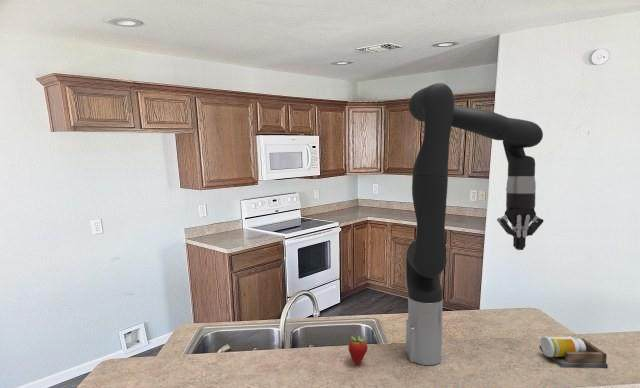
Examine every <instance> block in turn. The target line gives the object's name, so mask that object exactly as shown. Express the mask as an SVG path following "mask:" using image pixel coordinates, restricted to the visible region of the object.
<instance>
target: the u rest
mask: <svg viewBox="0 0 640 388" xmlns="http://www.w3.org/2000/svg"><path fill="white" fill-rule="evenodd" d="M577 339H581V340H582V341H583V342H584V343H585V346H586V352H565V357H549V358H550V359H551V360H552V361H553V362H554V363H555V364H557V365H558V367H560V368H584V369H585V368H587V369H589V368H591V369H594V368H595V369H608V367H609V366H608V365H609V364H608V363H607V357H608V356H607V353H605V352H604V351H602V350H601V349H599V348H598V347H597V346H595V345H593V344H592V343H591V342H590V341H587V340H586V339H585V338H580V337H579V338H577ZM540 349H541V350H540ZM539 350H540V351H542V348H541V344H540V345H539Z"/></svg>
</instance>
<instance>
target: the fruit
mask: <svg viewBox="0 0 640 388" xmlns="http://www.w3.org/2000/svg"><path fill="white" fill-rule="evenodd" d="M361 336H362V337H360V335H357V336H355V337H354V336H353V335H351V337H349V340H351V341H350V342H349V343H348V352H349V355H350V357H351V359H352V362H353V363H354V364H356V365H359V364H361V363H362V361H363V359H364V358H365V355H366V354H367V352H368V344H367V343H366V342H365V340H366V339H367V337H366V336H364V334H363V335H361Z"/></svg>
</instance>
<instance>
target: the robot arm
mask: <svg viewBox="0 0 640 388" xmlns="http://www.w3.org/2000/svg"><path fill="white" fill-rule="evenodd" d="M408 109H409V113H410V114H411V116H412V117H413V118H414V120H417V121H419V122H422V123H423V122H424V130H423V131H424V133H423V140H422V143H421V146H420V149H419V151H418V154H417V156H416V159H415V161H414V163H413V167H412V180H411V181H412V183H411V184H412V185H411V195H412V203H413V210H414V214H415V218H416V236H415V240H414V241H412V242H411V243H410V244H409V246H408V247H407V249H406V256H405V258H406V259H405V262H406V264H405V268H406V269H405V270H406V271H405V272H406V273H405V274H406V277H405V278H406V279H405V280H406V286H407V292H408V293H407V297H408V298H407V304H408V305H407V308H408V309H407V319H406V320H405V321H406V324H405V328H406V329H405V331H406V332H405V334H406V335H405V337H406V338H405V341H406V343H405V344H406V345H405V352H406V355H407V358H408V359H409V362H411V363H416V364H418V365H423V366H435V365H438V364H440V363H442V362H441V361H442V360H443V359H442V357H443V349H442V348H443V288H442V285H441V282H440V274H441V275H442V273H443V271H444V269H445V267H446V264H447V247H446V246H447V245H446V234H445V233H446V229H445V228H446V227H445V226H446V225H445V224H446V213H447V198H448V188H449V187H448V186H449V185H448V182H449V181H448V180H449V177H448V176H449V158H450V157H449V155H450V140H451V139H450V138H451V132H452V128H456V129H461V130H464V131H467V132H471V133H473V134H476V135H480V136H483V137H484V138H488V139H491V140H495V141H502V145H503V149H504V153H505V157H506V160H507V181H506V189H505V191H506V194H505V195H506V198H505V199H506V200H505V201H506V203H505V204H506V205H505V207H506V210H505V211H504V215H503V216H501V217H498V218H497V219H496V221H497V222H498V223H499V226H501V227H502V229H503V230H504V232H506V234H508V235H509V236H512V237H513V239H512V241H513V245H512V246H513V248H514V249H515V250H517V251H523V250H524V249H525V247H526V242H527V241H526V238H527V237H529V236H533V235H534V233H536V231H537V230H538V229H539V228H540V227H541V225H542V224H543V223H544V219H543V218H541V217H539V216H537V212H536V210H535V208H536V188H537V187H536V186H537V184H536V183H537V182H536V161H535V159H536V158H534V157H532V156H529V155H526V153H525V152H526V151H525V149H527V148H532V147H536V146H537V145H539V144H540V143H541V141H542V140H543V138H544V137H543V136H544V133H543V130H542V127H540V126H539V124H537V123H536V122H533V121H529V120H526V119H519V118H515V117H513V118H512V117H508V116H505V115H502V114H501V113H500V114H499V113H496V112H494V111H491V110H487V109H482V108H475V107H468V106H467V107H466V106H463V105H457V104H455V96H454V93H453V91H452V89H451V88H450V86H449V85H447V84H446V83H443V82H437V83H433V84H430V85H429V86H426V87H423V88H422V89H421V88H420V89H419V90H417V91H416V92H415V93H414V94H413V95H412V96H411V98H409V102H408ZM509 223H510V224H511V225H509Z"/></svg>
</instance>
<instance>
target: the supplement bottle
mask: <svg viewBox="0 0 640 388" xmlns="http://www.w3.org/2000/svg"><path fill="white" fill-rule="evenodd" d="M581 339H582V338H579V339H577V338H574V337H572V336H570V335H543V336H542V337H541V339H540V345H541V348H542V350H541V352H543V354H544V355H545V356H546V357H548V358H550V357H565V352H586V346H585V343H584V342H583V341H582V340H581Z"/></svg>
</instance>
